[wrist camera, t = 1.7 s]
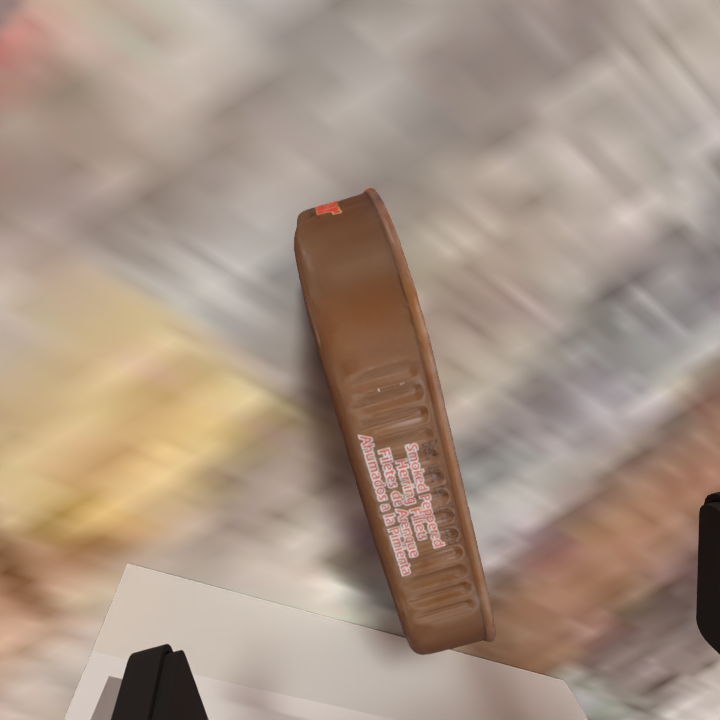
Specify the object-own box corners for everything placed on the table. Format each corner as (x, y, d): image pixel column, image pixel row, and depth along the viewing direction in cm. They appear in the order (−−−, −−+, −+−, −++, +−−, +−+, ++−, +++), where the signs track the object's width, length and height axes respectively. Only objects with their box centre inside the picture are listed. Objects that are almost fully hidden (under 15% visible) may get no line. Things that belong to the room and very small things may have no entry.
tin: (447, 532, 24) (534, 700, 16) (379, 555, 24) (433, 736, 16) (360, 187, 19) (423, 178, 11) (275, 211, 19) (276, 219, 11)
